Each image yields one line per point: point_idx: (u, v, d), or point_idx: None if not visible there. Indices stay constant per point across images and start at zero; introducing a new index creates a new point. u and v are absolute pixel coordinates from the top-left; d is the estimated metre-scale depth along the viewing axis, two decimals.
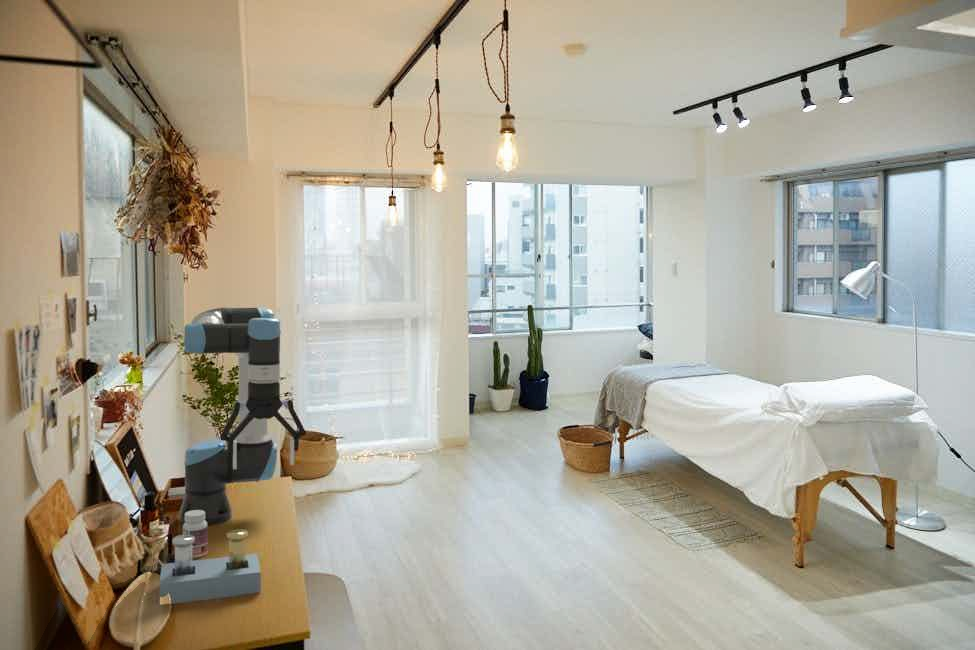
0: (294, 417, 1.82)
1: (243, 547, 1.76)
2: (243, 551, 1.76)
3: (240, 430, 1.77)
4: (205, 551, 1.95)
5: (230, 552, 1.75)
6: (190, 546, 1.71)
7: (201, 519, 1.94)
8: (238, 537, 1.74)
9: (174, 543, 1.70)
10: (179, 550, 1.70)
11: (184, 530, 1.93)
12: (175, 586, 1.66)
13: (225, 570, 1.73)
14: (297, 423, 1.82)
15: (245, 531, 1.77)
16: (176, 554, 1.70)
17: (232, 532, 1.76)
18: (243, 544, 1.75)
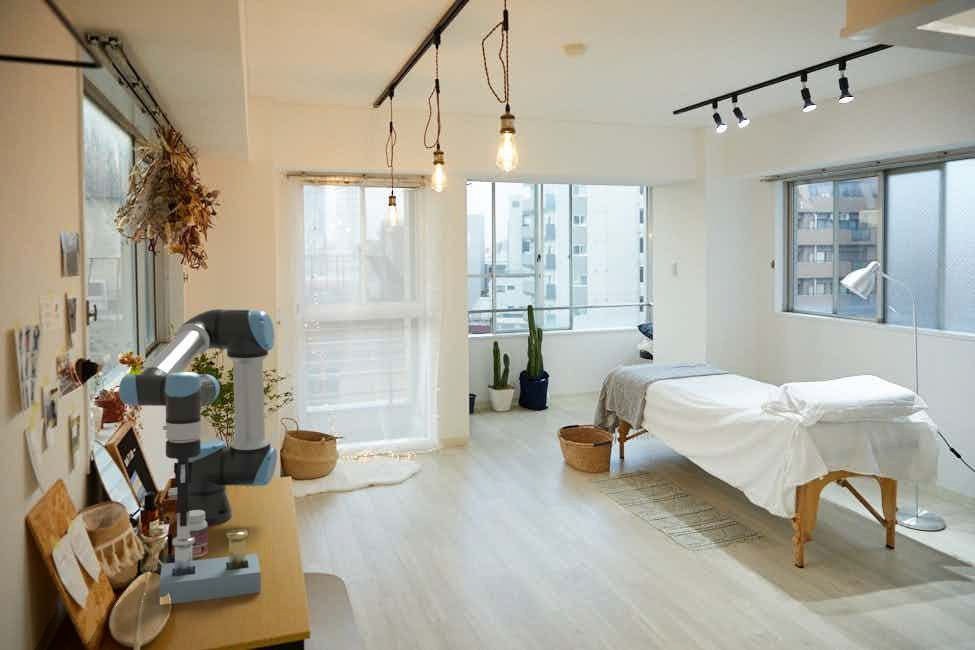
0: (177, 491, 1.67)
1: (243, 547, 1.76)
2: (243, 551, 1.76)
3: None
4: (205, 551, 1.95)
5: (230, 552, 1.75)
6: (190, 547, 1.71)
7: (201, 519, 1.94)
8: (238, 537, 1.74)
9: (174, 544, 1.70)
10: (179, 551, 1.70)
11: None
12: (175, 586, 1.66)
13: (225, 570, 1.73)
14: (177, 497, 1.67)
15: (245, 531, 1.77)
16: (176, 555, 1.70)
17: (232, 532, 1.76)
18: (243, 544, 1.75)
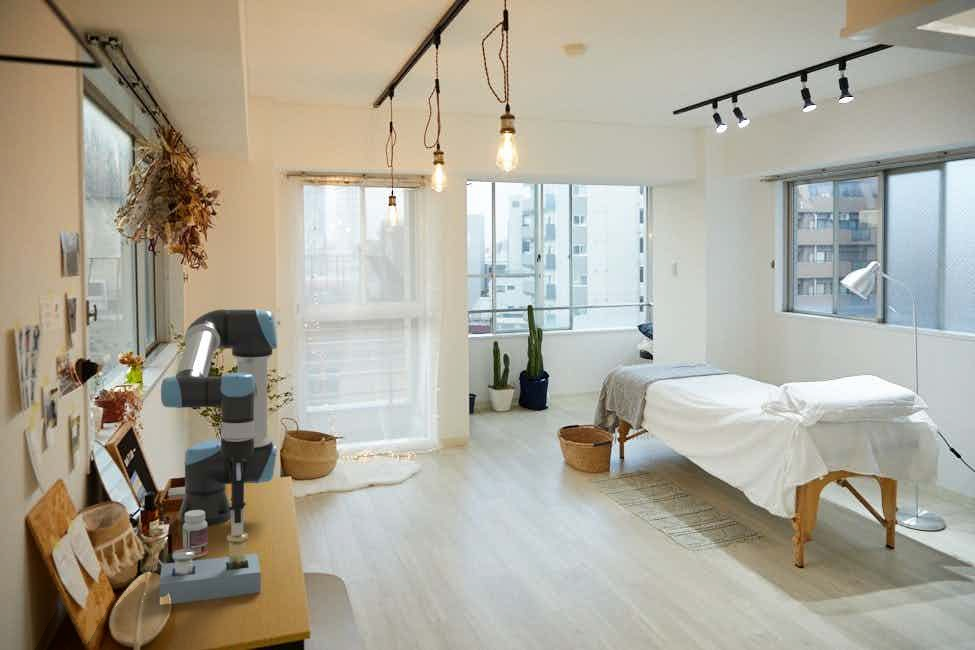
0: (232, 488, 1.71)
1: (243, 549, 1.76)
2: (243, 553, 1.76)
3: None
4: (205, 551, 1.95)
5: (230, 554, 1.75)
6: (190, 561, 1.72)
7: (201, 519, 1.94)
8: (238, 539, 1.74)
9: (174, 558, 1.70)
10: (179, 565, 1.70)
11: (184, 530, 1.93)
12: (175, 586, 1.66)
13: (225, 570, 1.73)
14: (232, 495, 1.71)
15: (245, 533, 1.77)
16: (176, 569, 1.71)
17: None
18: (243, 546, 1.76)
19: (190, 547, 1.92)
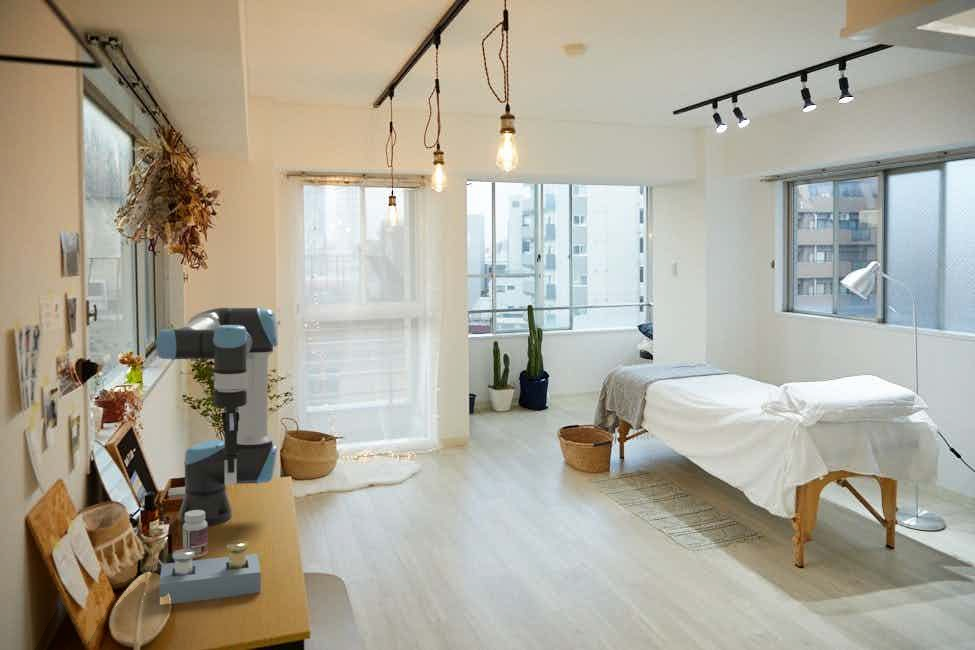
0: (226, 438, 1.73)
1: (243, 558, 1.76)
2: (243, 562, 1.76)
3: None
4: (205, 551, 1.95)
5: (230, 563, 1.75)
6: (190, 561, 1.72)
7: (201, 519, 1.94)
8: (238, 549, 1.74)
9: (174, 558, 1.70)
10: (179, 565, 1.70)
11: (184, 530, 1.93)
12: (175, 586, 1.66)
13: (225, 570, 1.73)
14: (225, 444, 1.74)
15: (245, 542, 1.77)
16: (176, 569, 1.71)
17: (232, 543, 1.76)
18: (243, 555, 1.76)
19: (190, 547, 1.92)
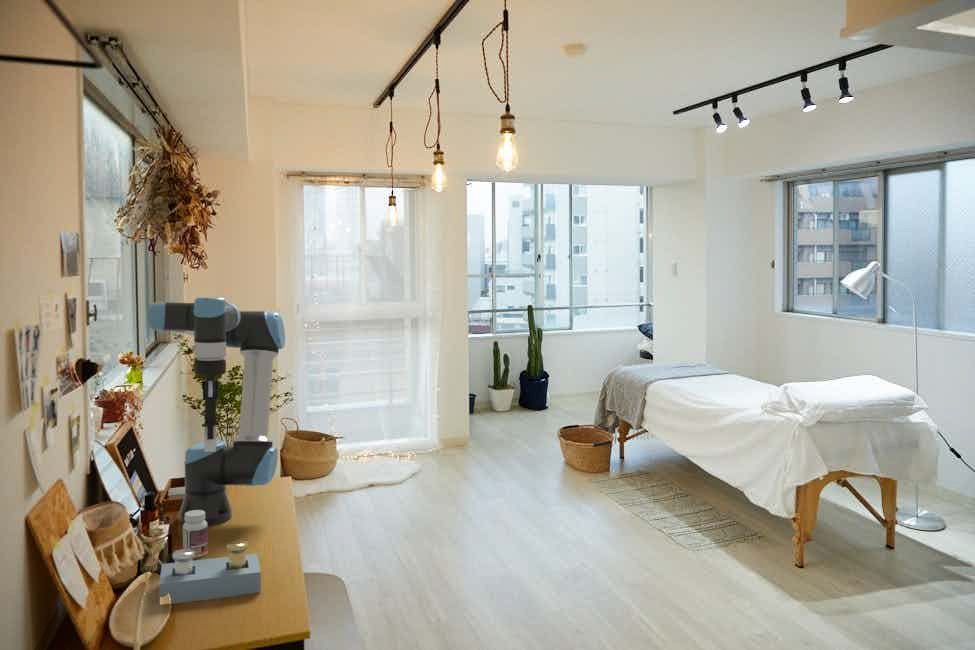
0: (205, 405, 1.80)
1: (243, 558, 1.76)
2: (243, 562, 1.76)
3: None
4: (205, 551, 1.95)
5: (230, 563, 1.75)
6: (190, 561, 1.72)
7: (201, 519, 1.94)
8: (238, 549, 1.74)
9: (174, 558, 1.70)
10: (179, 565, 1.70)
11: (184, 530, 1.93)
12: (175, 586, 1.66)
13: (225, 570, 1.73)
14: (205, 411, 1.80)
15: (245, 542, 1.77)
16: (176, 569, 1.71)
17: (232, 543, 1.76)
18: (243, 555, 1.76)
19: (190, 547, 1.92)
